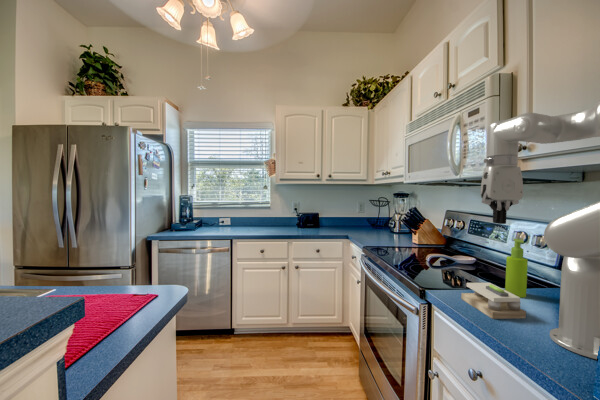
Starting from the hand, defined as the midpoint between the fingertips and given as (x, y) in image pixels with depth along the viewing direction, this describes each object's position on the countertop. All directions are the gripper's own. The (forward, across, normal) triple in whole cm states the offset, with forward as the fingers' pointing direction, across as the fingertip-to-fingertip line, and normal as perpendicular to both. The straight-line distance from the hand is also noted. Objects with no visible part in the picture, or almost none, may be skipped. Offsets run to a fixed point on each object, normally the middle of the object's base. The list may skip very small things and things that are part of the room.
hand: (499, 223), depth 82 cm
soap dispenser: (+27, +17, +12) cm, 34 cm away
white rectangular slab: (+22, 0, +2) cm, 23 cm away
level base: (+27, 0, +2) cm, 27 cm away
